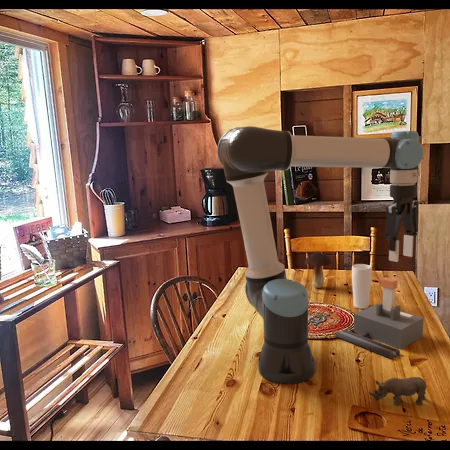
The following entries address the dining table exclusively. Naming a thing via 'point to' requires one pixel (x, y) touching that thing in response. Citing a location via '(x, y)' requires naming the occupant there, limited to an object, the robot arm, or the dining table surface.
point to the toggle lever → (388, 294)
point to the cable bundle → (368, 343)
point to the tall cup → (361, 285)
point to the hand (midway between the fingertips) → (400, 258)
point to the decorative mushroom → (318, 267)
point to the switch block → (389, 325)
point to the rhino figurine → (401, 389)
